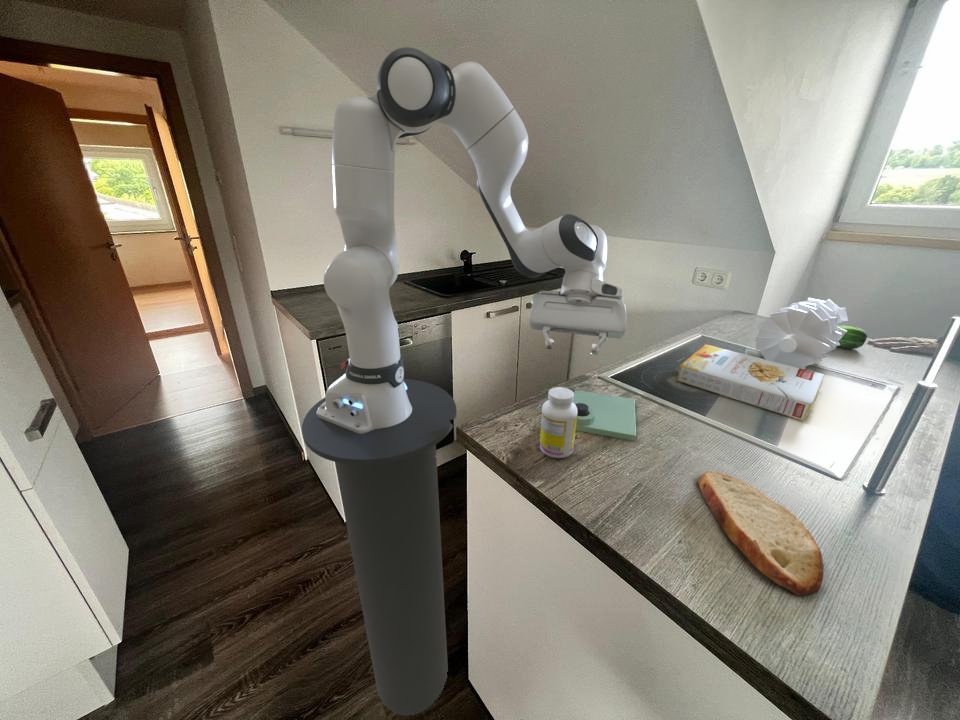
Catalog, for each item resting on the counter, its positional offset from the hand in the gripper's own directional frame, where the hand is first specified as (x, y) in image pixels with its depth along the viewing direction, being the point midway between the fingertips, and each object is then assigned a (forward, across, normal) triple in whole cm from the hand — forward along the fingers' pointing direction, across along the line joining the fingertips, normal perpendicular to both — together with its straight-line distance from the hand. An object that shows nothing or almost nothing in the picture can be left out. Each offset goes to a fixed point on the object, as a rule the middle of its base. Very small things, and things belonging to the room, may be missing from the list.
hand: (571, 350), depth 81 cm
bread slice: (+27, +31, -4) cm, 42 cm away
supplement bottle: (+20, 0, +4) cm, 21 cm away
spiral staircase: (-28, +61, +52) cm, 85 cm away
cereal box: (-10, +43, +34) cm, 56 cm away
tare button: (+11, +3, +9) cm, 15 cm away
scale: (+9, +8, +15) cm, 19 cm away
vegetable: (-42, +76, +66) cm, 109 cm away
